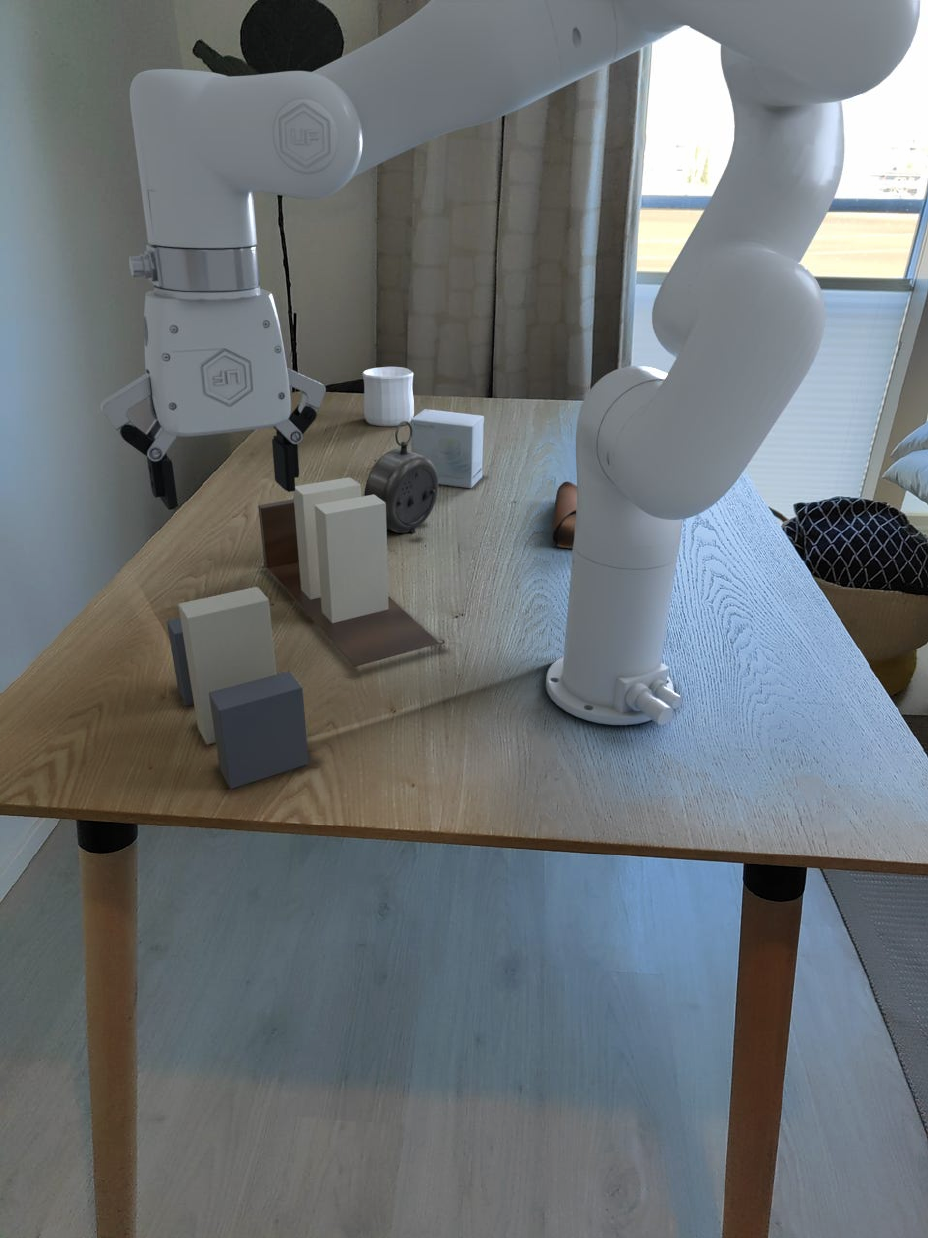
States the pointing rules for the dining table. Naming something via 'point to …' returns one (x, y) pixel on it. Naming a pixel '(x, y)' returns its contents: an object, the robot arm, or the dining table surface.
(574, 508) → the sunglasses case
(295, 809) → the dining table surface
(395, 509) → the alarm clock
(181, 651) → the grey book
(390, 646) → the book rack
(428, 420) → the cosmetics box
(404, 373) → the cup
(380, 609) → the cream book
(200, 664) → the cream book
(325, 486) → the cream book
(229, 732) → the grey book
